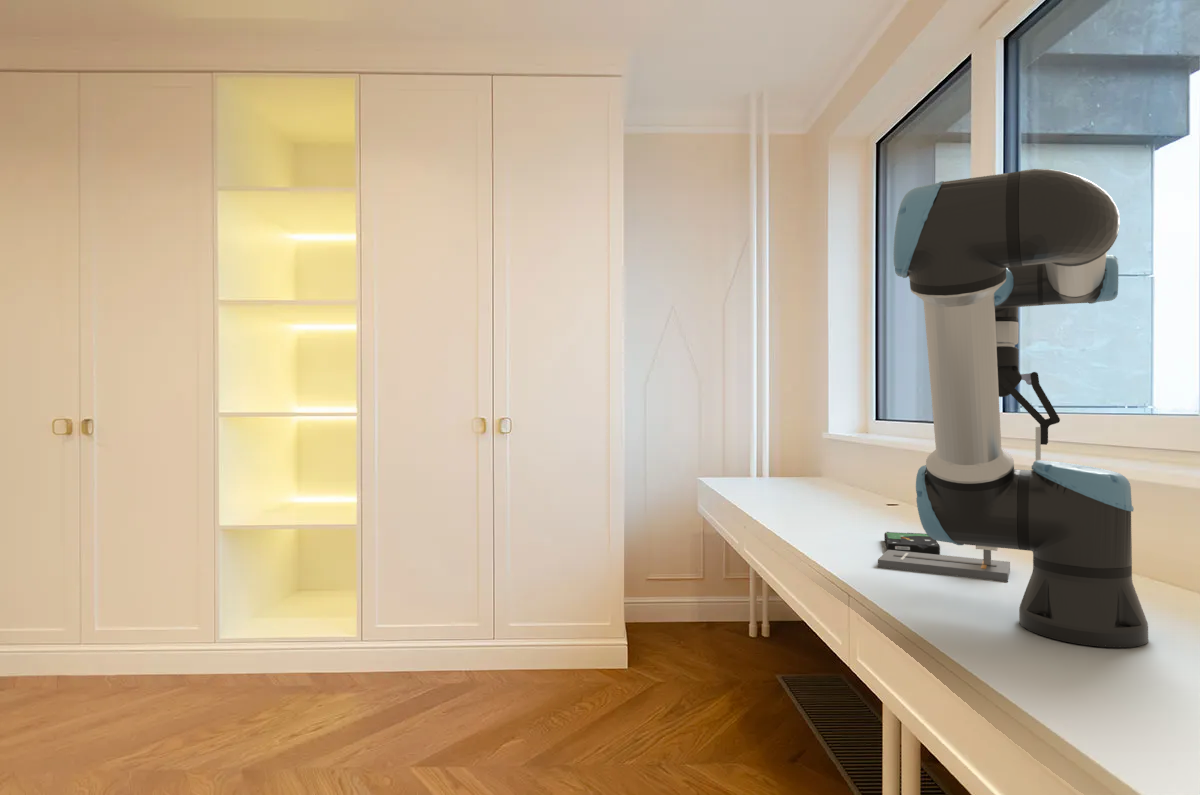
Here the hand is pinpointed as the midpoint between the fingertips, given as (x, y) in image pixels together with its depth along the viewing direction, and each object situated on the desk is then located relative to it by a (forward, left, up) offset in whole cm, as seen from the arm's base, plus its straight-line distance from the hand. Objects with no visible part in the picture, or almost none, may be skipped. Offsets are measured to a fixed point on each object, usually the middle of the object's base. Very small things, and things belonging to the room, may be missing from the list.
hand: (995, 461), depth 136 cm
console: (+1, +9, -21) cm, 23 cm away
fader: (+1, +1, -19) cm, 19 cm away
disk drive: (+19, +17, -22) cm, 34 cm away
